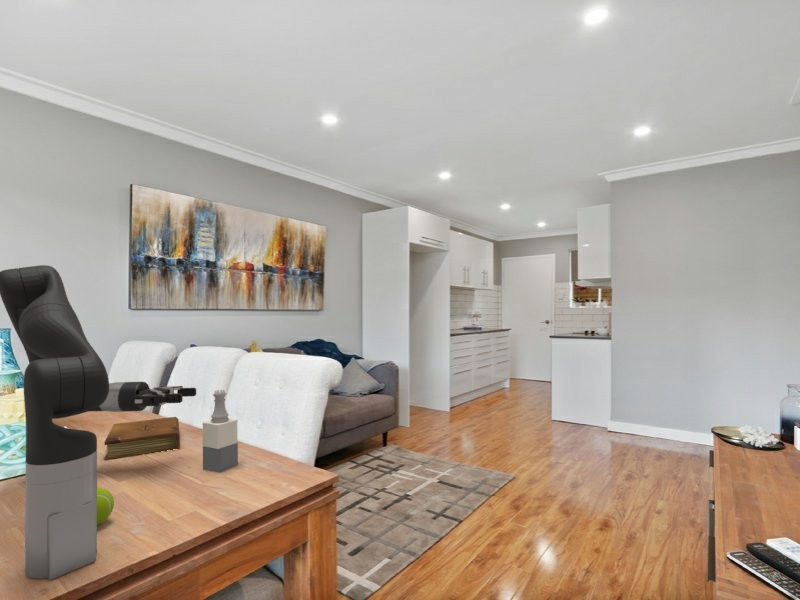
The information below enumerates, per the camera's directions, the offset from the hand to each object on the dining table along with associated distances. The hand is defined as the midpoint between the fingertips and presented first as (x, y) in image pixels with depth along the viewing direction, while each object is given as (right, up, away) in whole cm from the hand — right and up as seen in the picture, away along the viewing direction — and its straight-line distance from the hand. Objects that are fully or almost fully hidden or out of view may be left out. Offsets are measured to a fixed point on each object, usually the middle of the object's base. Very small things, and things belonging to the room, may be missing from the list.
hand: (189, 394), depth 113 cm
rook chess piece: (+8, -7, 0) cm, 11 cm away
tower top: (+8, -13, 0) cm, 15 cm away
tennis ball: (-4, -19, -31) cm, 36 cm away
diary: (-24, -21, +22) cm, 39 cm away
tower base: (+8, -19, 0) cm, 21 cm away
